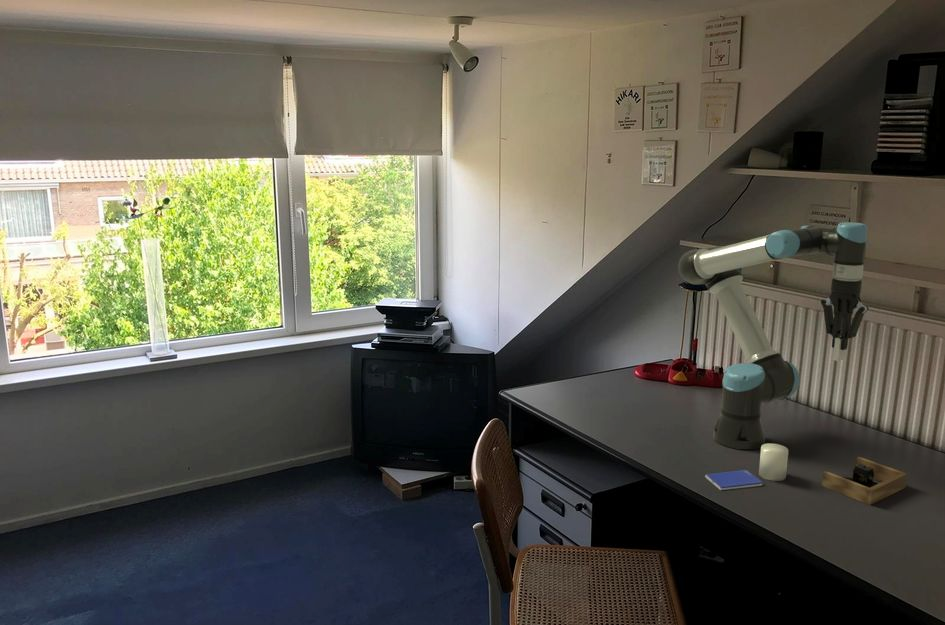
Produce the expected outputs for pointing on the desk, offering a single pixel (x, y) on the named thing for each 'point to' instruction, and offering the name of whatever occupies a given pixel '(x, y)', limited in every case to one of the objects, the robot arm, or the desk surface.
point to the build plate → (862, 476)
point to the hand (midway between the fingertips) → (838, 359)
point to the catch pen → (889, 486)
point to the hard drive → (733, 480)
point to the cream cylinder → (773, 462)
